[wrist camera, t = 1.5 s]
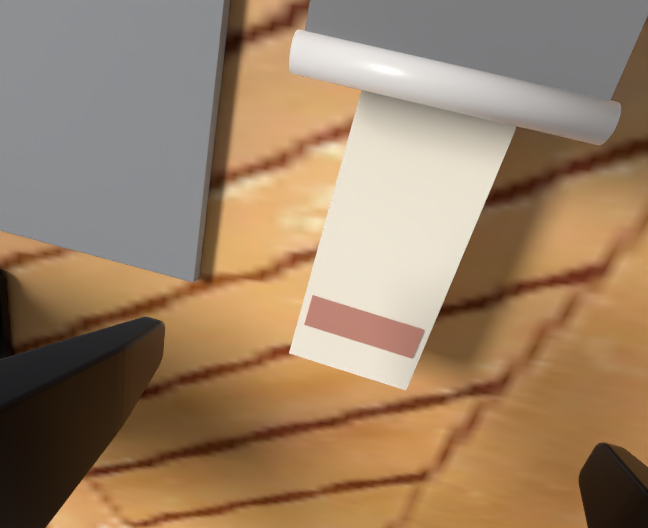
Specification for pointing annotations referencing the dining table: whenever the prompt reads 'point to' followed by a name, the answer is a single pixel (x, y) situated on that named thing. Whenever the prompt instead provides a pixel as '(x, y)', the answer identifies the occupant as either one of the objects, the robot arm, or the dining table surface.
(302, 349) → the white block
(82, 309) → the dining table surface
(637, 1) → the block
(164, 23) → the mat
